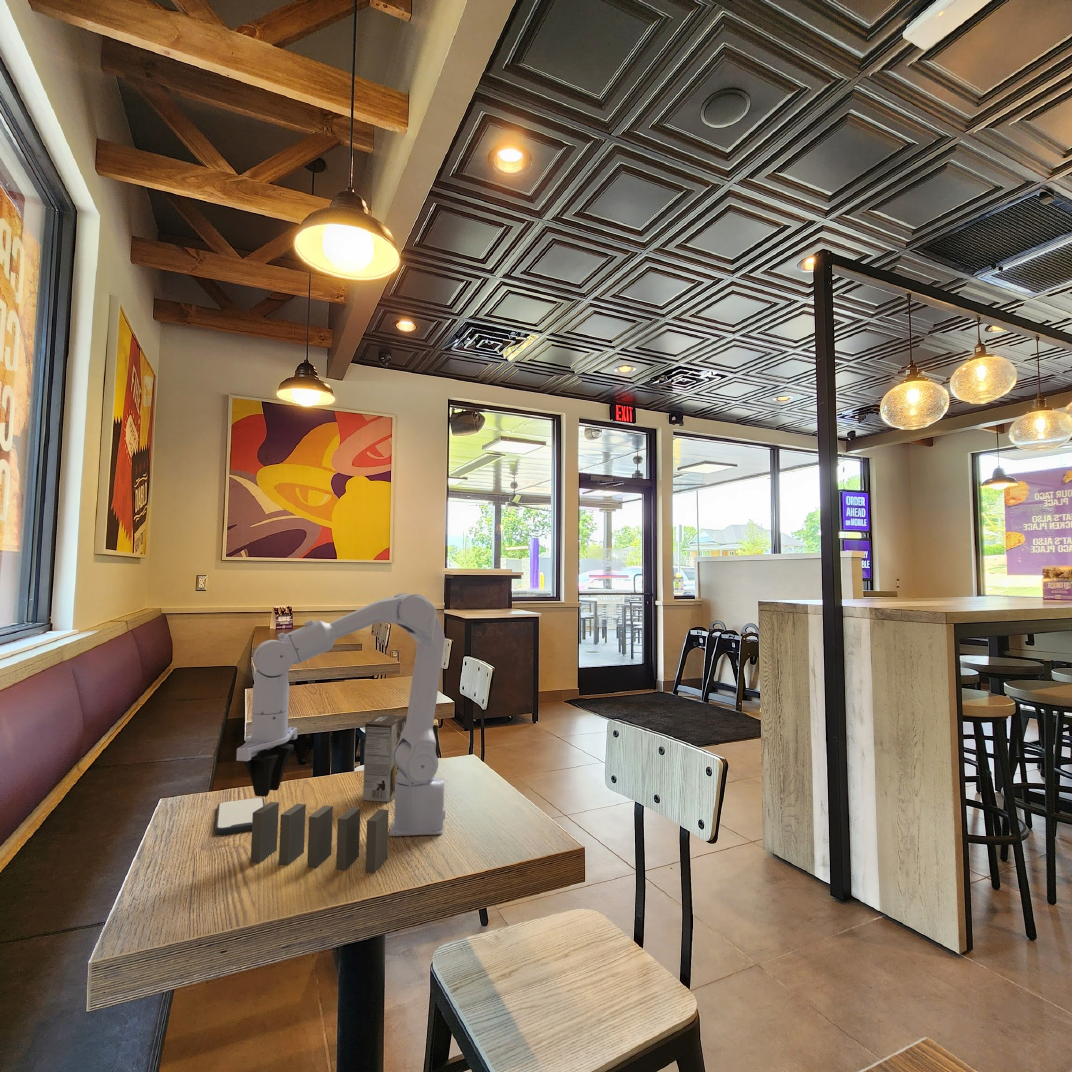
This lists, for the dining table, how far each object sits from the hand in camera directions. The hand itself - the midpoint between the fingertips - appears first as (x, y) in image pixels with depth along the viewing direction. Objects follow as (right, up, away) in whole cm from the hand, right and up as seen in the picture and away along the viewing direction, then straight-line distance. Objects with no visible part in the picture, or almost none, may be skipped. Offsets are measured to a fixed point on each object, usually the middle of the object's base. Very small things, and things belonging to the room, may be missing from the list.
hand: (266, 792), depth 102 cm
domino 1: (+5, -10, -2) cm, 12 cm away
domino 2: (+10, -10, -2) cm, 14 cm away
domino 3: (+15, -10, -3) cm, 18 cm away
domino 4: (+20, -10, -4) cm, 23 cm away
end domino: (0, -10, -1) cm, 10 cm away
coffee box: (+13, -13, +29) cm, 34 cm away
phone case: (-12, -12, +16) cm, 23 cm away
